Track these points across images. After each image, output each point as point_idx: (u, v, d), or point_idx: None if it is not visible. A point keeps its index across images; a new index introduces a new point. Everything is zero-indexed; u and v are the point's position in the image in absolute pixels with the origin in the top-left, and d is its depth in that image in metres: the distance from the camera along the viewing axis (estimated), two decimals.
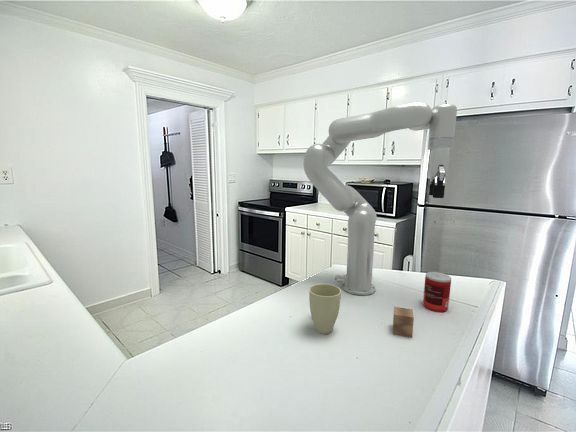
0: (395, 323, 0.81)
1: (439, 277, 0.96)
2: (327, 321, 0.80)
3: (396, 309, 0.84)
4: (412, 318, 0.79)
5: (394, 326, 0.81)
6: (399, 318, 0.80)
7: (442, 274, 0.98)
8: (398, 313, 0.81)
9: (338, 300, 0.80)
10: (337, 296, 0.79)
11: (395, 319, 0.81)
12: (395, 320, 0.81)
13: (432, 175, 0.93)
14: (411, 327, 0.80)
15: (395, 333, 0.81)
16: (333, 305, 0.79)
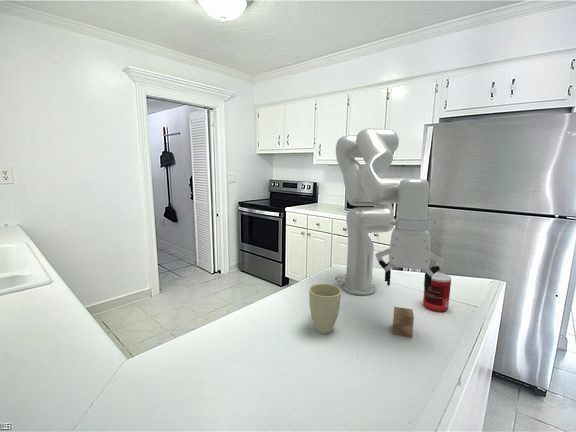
0: (395, 323, 0.81)
1: (439, 277, 0.96)
2: (327, 321, 0.80)
3: (396, 309, 0.84)
4: (412, 318, 0.79)
5: (394, 326, 0.81)
6: (399, 318, 0.80)
7: (442, 274, 0.98)
8: (398, 313, 0.81)
9: (338, 300, 0.80)
10: (337, 296, 0.79)
11: (395, 319, 0.81)
12: (395, 320, 0.81)
13: (429, 265, 0.76)
14: (411, 327, 0.80)
15: (395, 333, 0.81)
16: (333, 305, 0.79)
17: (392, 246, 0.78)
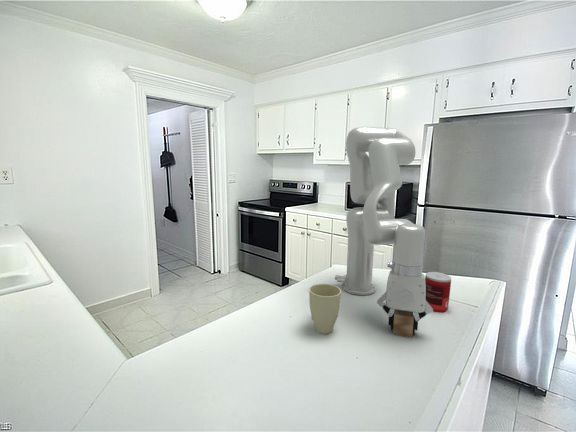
0: (395, 323, 0.81)
1: (439, 277, 0.96)
2: (327, 321, 0.80)
3: (396, 309, 0.83)
4: (412, 318, 0.79)
5: (394, 326, 0.81)
6: (399, 318, 0.80)
7: (442, 274, 0.98)
8: (398, 313, 0.81)
9: (338, 300, 0.80)
10: (337, 296, 0.79)
11: (395, 319, 0.81)
12: (395, 320, 0.81)
13: (424, 309, 0.78)
14: (411, 327, 0.80)
15: (395, 333, 0.81)
16: (333, 305, 0.79)
17: (388, 289, 0.80)
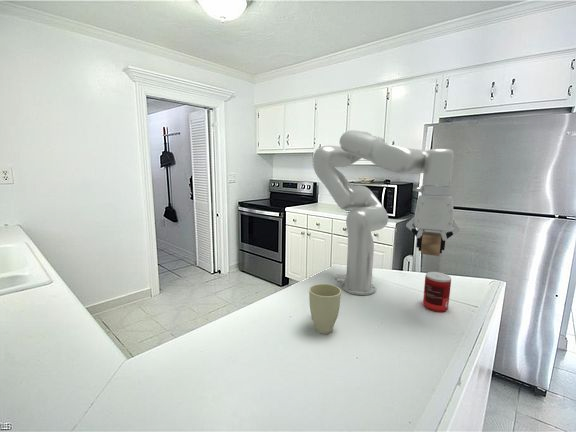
0: (423, 243, 0.87)
1: (439, 277, 0.96)
2: (327, 321, 0.80)
3: (424, 232, 0.90)
4: (440, 237, 0.85)
5: (422, 246, 0.87)
6: (427, 238, 0.86)
7: (442, 274, 0.98)
8: (426, 234, 0.87)
9: (338, 300, 0.80)
10: (337, 296, 0.79)
11: (423, 239, 0.87)
12: (423, 240, 0.87)
13: (451, 227, 0.84)
14: (438, 245, 0.86)
15: (423, 252, 0.88)
16: (333, 305, 0.79)
17: (418, 210, 0.86)
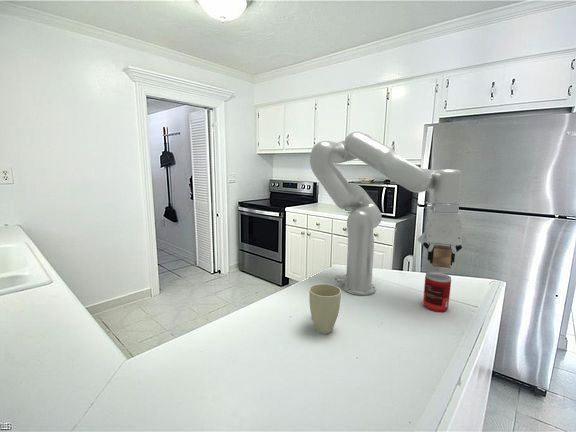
0: (435, 256, 0.93)
1: (439, 277, 0.96)
2: (327, 321, 0.80)
3: (434, 246, 0.96)
4: (450, 250, 0.92)
5: (434, 259, 0.94)
6: (438, 251, 0.93)
7: (442, 274, 0.98)
8: (437, 247, 0.94)
9: (338, 300, 0.80)
10: (337, 296, 0.79)
11: (435, 252, 0.93)
12: (435, 253, 0.93)
13: None
14: (449, 258, 0.92)
15: (435, 265, 0.94)
16: (333, 305, 0.79)
17: (429, 226, 0.93)
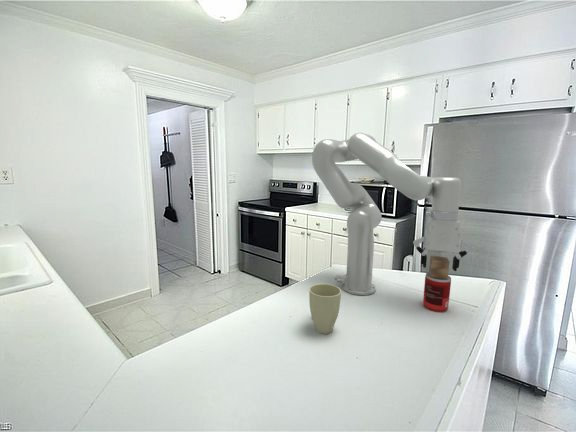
0: (433, 267, 0.94)
1: None
2: (327, 321, 0.80)
3: (432, 257, 0.97)
4: (448, 262, 0.92)
5: (432, 270, 0.94)
6: (436, 263, 0.94)
7: None
8: (435, 259, 0.94)
9: (338, 300, 0.80)
10: (337, 296, 0.79)
11: (433, 264, 0.94)
12: (433, 265, 0.94)
13: (459, 249, 0.91)
14: (447, 270, 0.93)
15: (432, 276, 0.95)
16: (333, 305, 0.79)
17: (428, 233, 0.93)
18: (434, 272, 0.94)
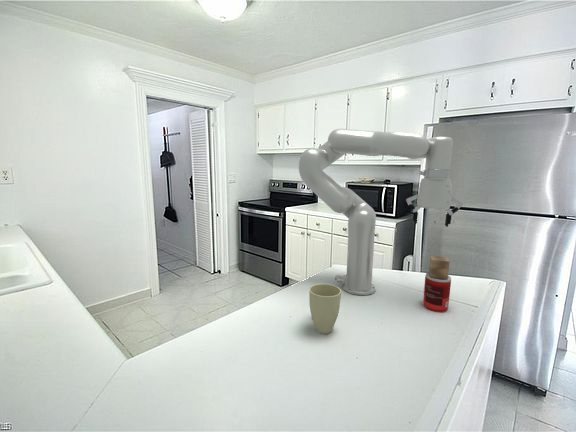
0: (433, 267, 0.94)
1: None
2: (327, 321, 0.80)
3: (432, 257, 0.97)
4: (448, 262, 0.92)
5: (432, 270, 0.94)
6: (436, 263, 0.94)
7: None
8: (435, 259, 0.94)
9: (338, 300, 0.80)
10: (337, 296, 0.79)
11: (433, 264, 0.94)
12: (433, 265, 0.94)
13: None
14: (447, 270, 0.93)
15: (432, 276, 0.95)
16: (333, 305, 0.79)
17: (420, 191, 0.98)
18: (434, 272, 0.94)
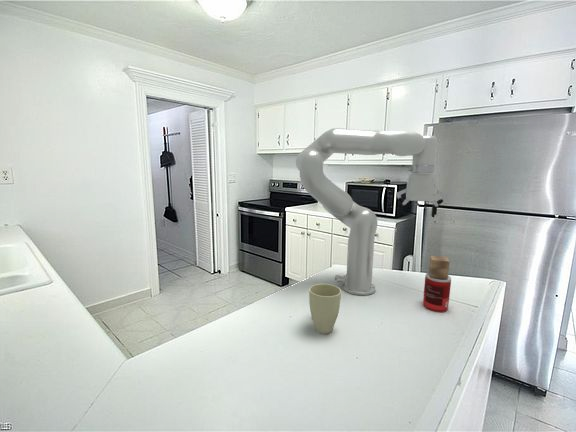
0: (433, 267, 0.94)
1: None
2: (327, 321, 0.80)
3: (432, 257, 0.97)
4: (448, 262, 0.92)
5: (432, 270, 0.94)
6: (436, 263, 0.94)
7: None
8: (435, 259, 0.94)
9: (338, 300, 0.80)
10: (337, 296, 0.79)
11: (433, 264, 0.94)
12: (433, 265, 0.94)
13: (435, 198, 1.06)
14: (447, 270, 0.93)
15: (432, 276, 0.95)
16: (333, 305, 0.79)
17: (409, 185, 1.08)
18: (434, 272, 0.94)
